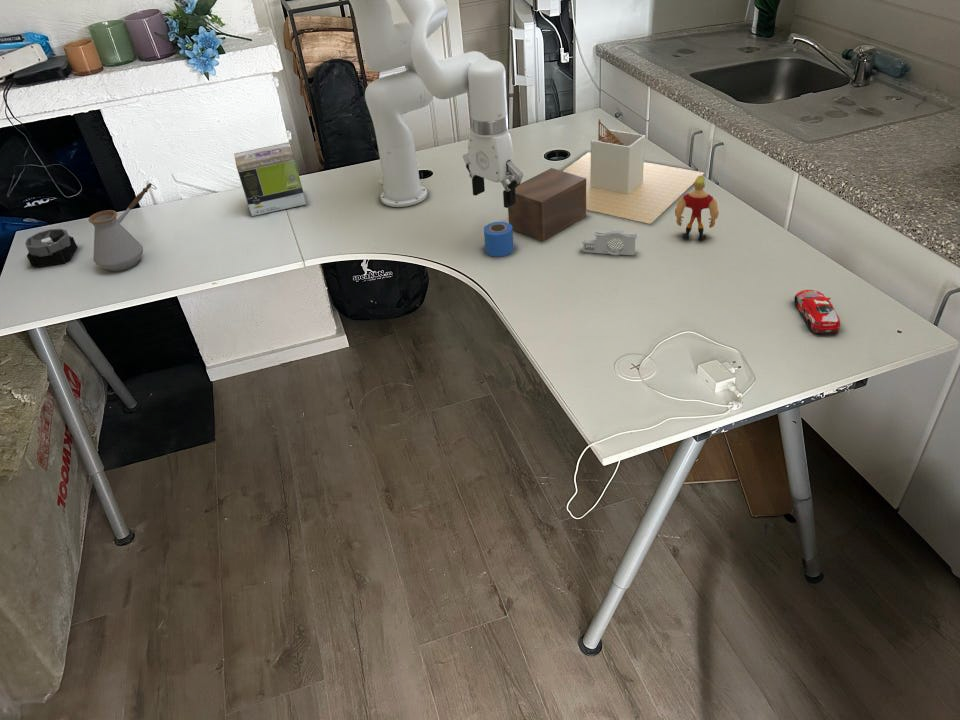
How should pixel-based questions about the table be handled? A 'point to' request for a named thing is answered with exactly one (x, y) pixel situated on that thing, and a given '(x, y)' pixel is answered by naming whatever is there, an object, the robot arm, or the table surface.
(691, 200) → the action figure
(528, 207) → the brown boxy piece
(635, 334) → the table surface
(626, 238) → the lattice window wall
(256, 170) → the tea box
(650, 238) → the table surface
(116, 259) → the coffee pot
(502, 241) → the tape
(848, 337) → the table surface
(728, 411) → the table surface
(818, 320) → the race car
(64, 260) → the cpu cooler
